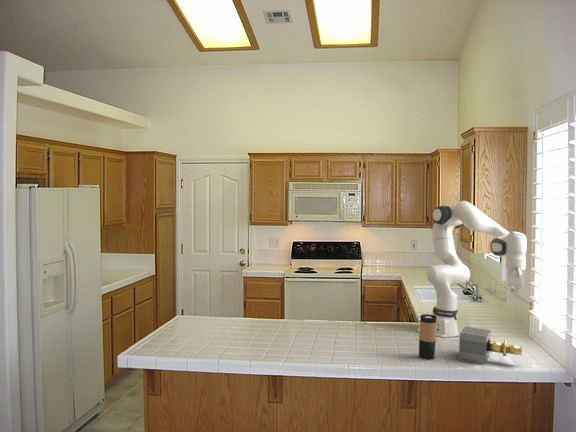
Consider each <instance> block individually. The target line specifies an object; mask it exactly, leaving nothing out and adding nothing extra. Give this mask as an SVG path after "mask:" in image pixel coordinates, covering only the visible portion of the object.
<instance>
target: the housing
mask: <svg viewBox="0 0 576 432" xmlns="http://www.w3.org/2000/svg"><path fill="white" fill-rule="evenodd" d="M491 332H492V331H491V329H486V328H480V327H471V326H466V325H465V326H464V327H463V328H462V330H461V331H460V332H459V343H458V344H459V347H458V348H459V349H458V360H459V361H463V360H464V361H465V362H469V363H475V364H480V363H481V364H482V365H486V364H487V362H488V359H489V358H490V352H491V351H487V343H488V341H491V335H492V334H491Z"/></svg>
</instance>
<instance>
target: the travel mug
mask: <svg viewBox="0 0 576 432" xmlns="http://www.w3.org/2000/svg"><path fill="white" fill-rule="evenodd" d="M419 319H420V320H419V327H420V332H419V334H418V336H419V340H418V357H419V359H422V360H428V361H429V360H430V361H431V360H434V359H435V353H436V343H437V342H436V341H437V340H436V338H437V336H436V320H437V317H436V316H434V315H431V314H430V313H429V314H428V313H426V314H424V313H423V314H421V315H420V318H419Z"/></svg>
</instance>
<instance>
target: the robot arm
mask: <svg viewBox="0 0 576 432" xmlns="http://www.w3.org/2000/svg"><path fill="white" fill-rule="evenodd" d="M431 219H432V220H433V223H434V224H433V225H432V226H433V227H432V240H433V241H432V242H433V247H434V248H433V249H434V255H435V256H436V258H438V259H440V260H441V261H442V262H443V264H435V265H432V266H429V267H428V268H427V270H426V278H427V281H428V282H429V283H430V284H431V285H432V286H433V288H434V289H435V293H436V306H434V307H433V308H432V314H430V315H434V316H436V317H437V320H436V337H440V338H449V337H450V338H451V337H452V338H453V337H458V336H460V332H459V330H458V329H459V328H458V316H459V311H458V294H456V292H454V291H453V290H452V289H451V285H460V284H465V283H468V282H469V280H470V279H471V271H470V269H469V267H468V266H467V265H465V264H464V263H463V262H462V261H461V259H460V258H459V256H458V255H457V254H458V253H457V252H456V248H455V247H456V246H455V242H454V236H453V230H454V229H456V230H457V229H459V228H460V227H462V226H465V228H467V229H468V230H470V231H472V232H477V233H483V234H488V235H491V236H493V237H494V238H493V239H492V240H491V242H490V243H489V247H490V251H491V254H492V255H493V256H495V257H506V258H505V269H506V270H507V271H506V274H507V276H506V277H507V281H508V282H509V287H510V289H509V291H510V292H511V293H513V296H515V297H516V296H518V295H519V290H520V288H522V286H523V271H526V263H527V262H526V261H527V259H526V253H527V237H526V235H525V234H524V233H523V232H520V231H512V230H511V231H509V230H507V229H506V228H504V227H503V226H502V225H500V224H499V223H498V222H496V221H495V220H493V218H490V217H489V216H488V215H486V214H485V213H483V212H482V211H481V210H480V209H478V208H477V207H476V206H475V205H474V204H472V203H471V202H469V201H467V200H461V201H460V200H459V202H457V203H456V204H455V206H454V205H438V206H436V207H434V208H433V210H432V213H431ZM416 331H417V333H420V326H419V327H418V328H417V330H416Z"/></svg>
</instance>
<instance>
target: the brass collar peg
mask: <svg viewBox="0 0 576 432" xmlns="http://www.w3.org/2000/svg"><path fill="white" fill-rule="evenodd" d="M487 351H490V352H492V353H498V354H502V356H503V357H507V355H508V354H510V355H514V356H522V354H523V353H522V352H523V346H519V345H511V344H508V341H507V340H504V341H503V342H501V341H500V342H499V341H495V340H494V341H492V340H490V341H488V343H487Z"/></svg>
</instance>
